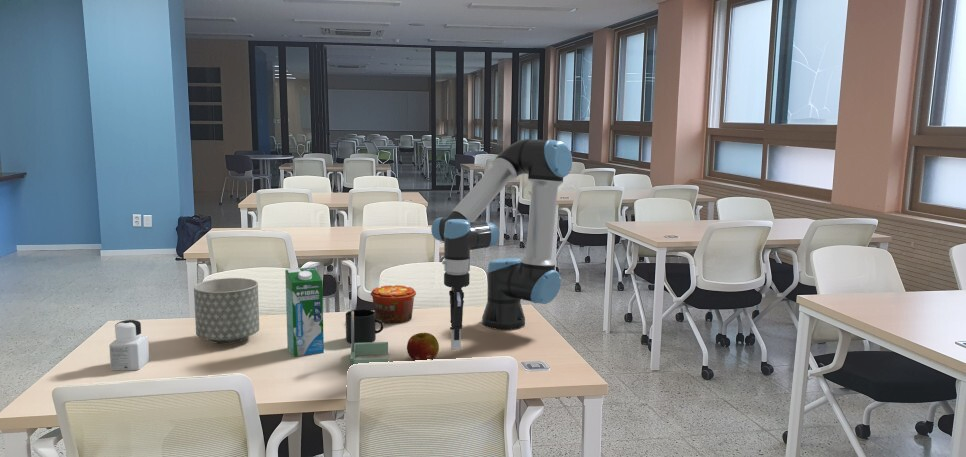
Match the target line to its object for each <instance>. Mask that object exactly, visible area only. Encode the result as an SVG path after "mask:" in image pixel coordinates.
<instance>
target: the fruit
mask: <svg viewBox="0 0 966 457" xmlns="http://www.w3.org/2000/svg"><path fill="white" fill-rule="evenodd" d="M439 344H440V343H439V341H438V339H437V338H436V337H435V336H434V335H433V334H432V333H429V332H419V333H416V334H415V333H414V334H413V335H412V336H410V338H409V339H408V341H407V345H406V351H407V356H409V358H410V359H412V361H414V360H427V359H433V360H434V359H435V358H436V357H437V355H438V353H439V350H440V345H439Z"/></svg>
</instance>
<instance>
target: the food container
mask: <svg viewBox="0 0 966 457" xmlns="http://www.w3.org/2000/svg"><path fill="white" fill-rule="evenodd" d="M416 295H417V292H416V290H415V289H414V288H413V287H411V286H409V287H407V286H406V285H399V284H397V285H396V284H395V285H390V284H389V285H383V286H380V287H375V288H373V289H372V291H371V292H370V296H371V297H372V304H373V311H374V312H375V315H376V319H378V320H380V321H382V323H383V324H386V325H398V324H404V323H408V322H409V321H411V320H412V318H413V311H414V301H415V297H416Z"/></svg>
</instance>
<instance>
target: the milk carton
mask: <svg viewBox="0 0 966 457" xmlns="http://www.w3.org/2000/svg"><path fill="white" fill-rule="evenodd" d="M284 271H285V299H286V300H285V302H286V303H285V304H286V305H285V306H286V309H285V310H286V335H287V336H286V338H287V339H286V340H287V342H286V343H287V349H288V350H289V352H290V354H292V356H293V357H301V356H309V355H315V354H322V353H324V352H325V351H324V349H325V348H324V346H325V344H324V342H325V341H324V303H323V302H324V300H323V298H324V297H323V295H324V294H323V293H324V292H323V279H322V277H321V276H320V274H319V272H318V270H317V269H316V267H314V266H313V267H302V268H301V267H300V268H290V269H289V268H288V269H285V270H284Z"/></svg>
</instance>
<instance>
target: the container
mask: <svg viewBox="0 0 966 457" xmlns="http://www.w3.org/2000/svg"><path fill="white" fill-rule="evenodd" d="M114 332H115V339H114V341H112V342H111V343H110V344H109V347H108V348H109V360H110V369H111V371H139V370H141V368H143V367H144V366H145V365H146V364H147V363H149V361H150V354H149V353H150V350H149V337H148V336H147V335H142V325H141V321H139V320H135V319H125V320H122V321H119V322H117V323H116V324H115V325H114Z"/></svg>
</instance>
